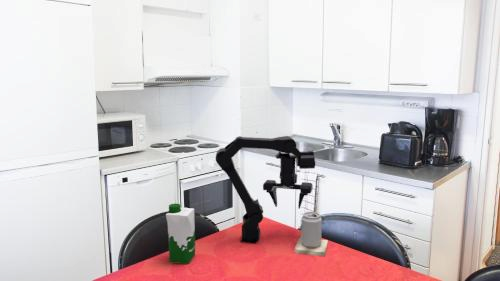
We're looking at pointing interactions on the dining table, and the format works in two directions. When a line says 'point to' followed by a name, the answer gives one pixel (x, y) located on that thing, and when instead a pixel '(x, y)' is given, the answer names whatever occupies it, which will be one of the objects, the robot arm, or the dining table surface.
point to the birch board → (311, 251)
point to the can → (311, 229)
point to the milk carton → (181, 234)
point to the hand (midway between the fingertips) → (287, 207)
